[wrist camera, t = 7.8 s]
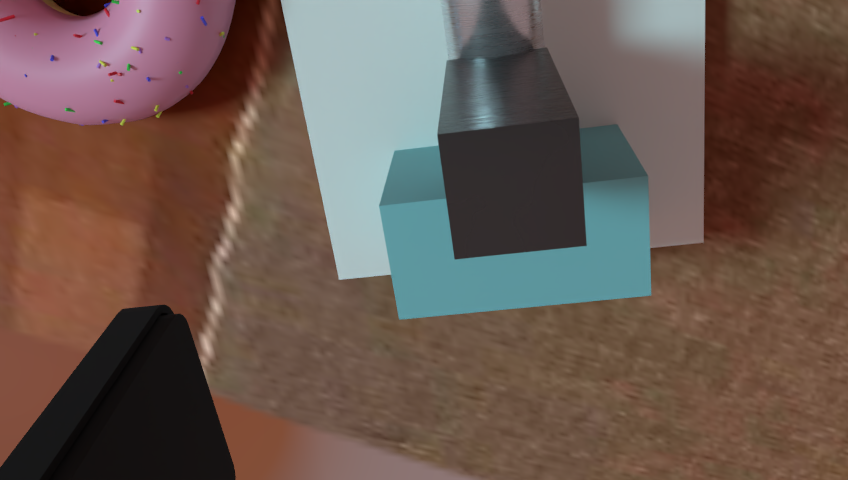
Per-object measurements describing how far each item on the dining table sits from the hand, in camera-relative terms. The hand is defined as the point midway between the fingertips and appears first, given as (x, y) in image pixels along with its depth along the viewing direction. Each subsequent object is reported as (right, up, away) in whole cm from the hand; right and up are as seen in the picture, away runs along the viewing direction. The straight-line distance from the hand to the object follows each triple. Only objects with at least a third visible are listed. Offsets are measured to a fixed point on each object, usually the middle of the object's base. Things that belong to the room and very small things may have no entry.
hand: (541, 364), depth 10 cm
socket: (+2, +3, +19) cm, 19 cm away
